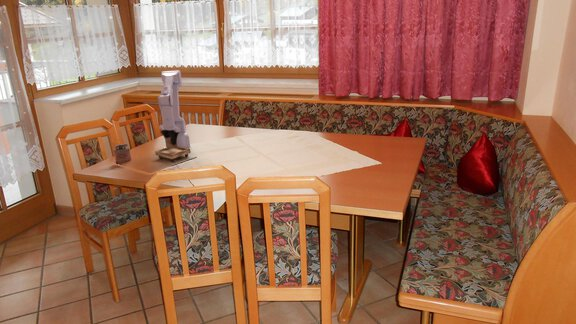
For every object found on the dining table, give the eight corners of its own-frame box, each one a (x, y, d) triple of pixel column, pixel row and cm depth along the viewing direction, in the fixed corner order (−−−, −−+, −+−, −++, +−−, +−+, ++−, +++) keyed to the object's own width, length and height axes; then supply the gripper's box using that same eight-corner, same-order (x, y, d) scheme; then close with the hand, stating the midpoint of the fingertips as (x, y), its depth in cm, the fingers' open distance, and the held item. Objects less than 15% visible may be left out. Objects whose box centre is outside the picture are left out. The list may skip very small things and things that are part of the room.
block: (172, 145, 232) (171, 136, 230) (177, 146, 229) (175, 137, 228) (166, 147, 229) (164, 138, 227) (171, 148, 226) (169, 139, 225)
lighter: (115, 164, 229) (112, 146, 225) (116, 162, 232) (112, 144, 229) (131, 162, 231) (128, 144, 227) (132, 160, 234) (129, 142, 231)
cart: (174, 152, 240) (173, 145, 238) (191, 156, 231) (190, 148, 230) (156, 158, 231) (154, 151, 230) (172, 162, 222) (171, 154, 221)
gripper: (152, 118, 226) (156, 144, 230) (170, 121, 217) (174, 147, 221) (164, 115, 231) (168, 140, 235) (181, 118, 222) (185, 144, 226)
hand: (171, 144), depth 229 cm, fingers closed on block, 4 cm apart
